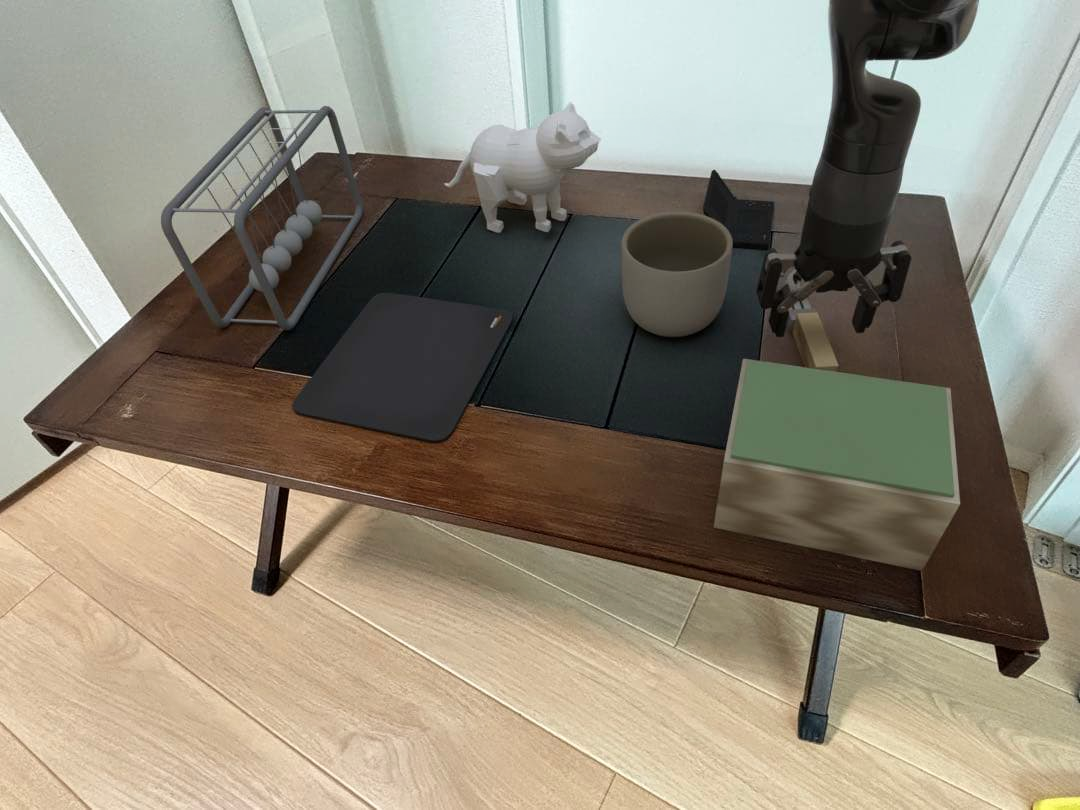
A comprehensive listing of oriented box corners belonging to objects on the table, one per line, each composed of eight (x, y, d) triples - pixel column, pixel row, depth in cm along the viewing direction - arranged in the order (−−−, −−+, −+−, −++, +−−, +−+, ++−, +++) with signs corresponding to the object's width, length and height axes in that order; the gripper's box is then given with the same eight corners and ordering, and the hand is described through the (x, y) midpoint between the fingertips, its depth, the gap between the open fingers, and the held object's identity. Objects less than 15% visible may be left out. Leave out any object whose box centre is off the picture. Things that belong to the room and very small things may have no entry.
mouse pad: (446, 445, 77) (445, 443, 77) (286, 411, 83) (286, 410, 83) (517, 312, 92) (516, 311, 92) (377, 292, 97) (376, 290, 97)
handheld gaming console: (786, 238, 95) (745, 181, 91) (739, 268, 99) (697, 214, 95) (776, 203, 104) (738, 149, 100) (733, 232, 108) (694, 181, 104)
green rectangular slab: (944, 391, 63) (946, 387, 63) (953, 498, 56) (954, 494, 56) (747, 362, 68) (748, 359, 68) (730, 457, 60) (731, 454, 60)
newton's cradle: (289, 338, 93) (235, 218, 80) (217, 334, 94) (152, 216, 82) (366, 212, 113) (332, 99, 100) (305, 211, 115) (264, 100, 102)
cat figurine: (434, 228, 108) (410, 120, 95) (462, 192, 114) (442, 87, 102) (595, 248, 100) (590, 134, 88) (614, 208, 107) (612, 97, 95)
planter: (720, 353, 84) (730, 277, 76) (614, 344, 86) (613, 270, 78) (725, 287, 92) (735, 213, 84) (629, 281, 94) (629, 208, 87)
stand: (917, 459, 71) (950, 388, 64) (922, 571, 63) (960, 504, 55) (732, 427, 76) (743, 358, 69) (713, 527, 67) (723, 461, 60)
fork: (836, 385, 79) (842, 365, 76) (807, 386, 79) (812, 366, 77) (802, 294, 90) (806, 275, 87) (776, 296, 90) (779, 276, 88)
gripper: (782, 227, 65) (758, 357, 77) (945, 216, 64) (895, 349, 76) (766, 184, 70) (745, 312, 82) (916, 173, 69) (873, 305, 81)
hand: (817, 330), depth 79 cm, fingers open, 8 cm apart
